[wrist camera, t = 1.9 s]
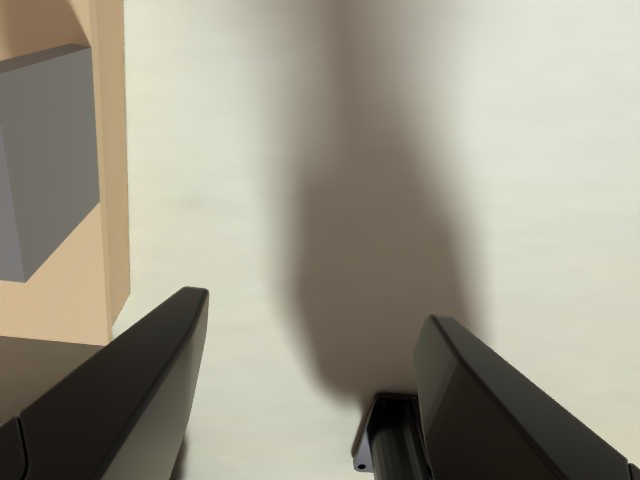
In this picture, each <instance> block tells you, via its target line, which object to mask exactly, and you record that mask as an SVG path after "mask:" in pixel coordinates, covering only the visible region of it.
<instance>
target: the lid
mask: <svg viewBox="0 0 640 480" xmlns="http://www.w3.org/2000/svg"><path fill="white" fill-rule="evenodd" d="M0 336H9V337H19V338H29V339H40V340H50V341H60V342H70V343H81V344H91V345H101V346H106V345H108V344H109V343H110V342H111V340H112V320H111V300H110V280H109V260H108V239H107V219H106V199H105V179H104V158H103V138H102V118H101V98H100V78H99V57H98V37H97V17H96V0H0Z"/></svg>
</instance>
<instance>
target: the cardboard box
mask: <svg viewBox="0 0 640 480" xmlns="http://www.w3.org/2000/svg"><path fill="white" fill-rule="evenodd" d="M96 17H97V37H98V57H99V78H100V98H101V118H102V138H103V158H104V179H105V199H106V219H107V239H108V260H109V280H110V300H111V320H112V326H113V324H114V322H115V321H116V319H117V317H118V315H119V313H120V311H121V309H122V308H123V306H124V304H125V302H126V300H127V298H128V297H129V295H130V265H129V224H128V182H127V141H126V100H125V58H124V17H123V0H96Z"/></svg>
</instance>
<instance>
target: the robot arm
mask: <svg viewBox="0 0 640 480" xmlns="http://www.w3.org/2000/svg"><path fill="white" fill-rule="evenodd" d="M208 307H209V291H208V290H207V289H205V288H197V287H189V286H186V287H183V288H181V289H180V290H179V291H177V292H176V293H175V294H173V295H172V296H171V297H169V298H168V299H167V300H166V301H164V302H163V303H162V304H160V305H159V306H158V307H156V308H155V309H154V310H152V311H151V312H150V313H148V314H147V315H146V316H144V317H143V318H142V319H141V320H139V321H138V322H137V323H135V324H134V325H133V326H131V327H130V328H129V329H127V330H126V331H125V332H123V333H122V334H121V335H119V336H118V337H117V338H116V339H114V340H113V341H112V342H110V343H109V344H108V345H106V346H105V347H104V348H102V349H101V350H100V351H98V352H97V353H96V354H94V355H93V356H92V357H91V358H89V359H88V360H87V361H85V362H84V363H83V364H81V365H80V366H79V367H77V368H76V369H75V370H73V371H72V372H71V373H69V374H68V375H67V376H66V377H64V378H63V379H62V380H60V381H59V382H58V383H56V384H55V385H54V386H52V387H51V388H50V389H48V390H47V391H46V392H44V393H43V394H42V395H40V396H39V397H38V398H37V399H35V400H34V401H33V402H31V403H30V404H29V405H27V406H26V407H25V408H23V409H22V410H21V411H19V413H18V417H16V416H13V417H11V418H10V419H9V420H7V421H6V422H5V423H3V424H2V425H1V426H0V480H169V479H170V476H171V473H172V470H173V467H174V464H175V461H176V458H177V455H178V452H179V449H180V446H181V443H182V440H183V437H184V434H185V430H186V427H187V424H188V420H189V416H190V412H191V408H192V403H193V398H194V393H195V388H196V383H197V378H198V373H199V368H200V363H201V358H202V353H203V348H204V343H205V338H206V331H207V320H208ZM414 367H415V375H416V382H417V390H418V395H407V394H396V393H385V392H382V393H378V394H376V395H375V396H374V398H373V401H372V404H371V407H370V410H369V413H368V416H367V420H366V423H365V426H364V429H363V432H362V435H361V438H360V441H359V444H358V447H357V450H356V453H355V456H354V459H353V465H354V469H355V470H356V471H359V472H370V473H374V479H375V480H640V469H639V468H638V467H637V466H635V465H634V464H632V463H628V460H627V459H626V458H625V457H624V456H623V455H622V454H620V453H619V452H618V451H617V450H615V449H614V448H613V447H612V446H610V445H609V444H608V443H607V442H606V441H604V440H603V439H602V438H601V437H599V436H598V435H597V434H596V433H594V432H593V431H592V430H591V429H589V428H588V427H587V426H586V425H585V424H583V423H582V422H581V421H580V420H578V419H577V418H576V417H575V416H573V415H572V414H571V413H570V412H568V411H567V410H566V409H565V408H564V407H562V406H561V405H560V404H559V403H557V402H556V401H555V400H554V399H552V398H551V397H550V396H549V395H547V394H546V393H545V392H544V391H543V390H541V389H540V388H539V387H538V386H536V385H535V384H534V383H533V382H531V381H530V380H529V379H528V378H526V377H525V376H524V375H523V374H522V373H520V372H519V371H518V370H517V369H515V368H514V367H513V366H512V365H510V364H509V363H508V362H507V361H505V360H504V359H503V358H502V357H501V356H499V355H498V354H497V353H496V352H494V351H493V350H492V349H491V348H489V347H488V346H487V345H486V344H484V343H483V342H482V341H481V340H480V339H478V338H477V337H476V336H475V335H473V334H472V333H471V332H470V331H468V330H467V329H466V328H465V327H463V326H462V325H461V324H460V323H459V322H457V321H456V320H455V319H454V318H452V317H449V316H442V315H430V316H428V317H427V318H426V320H425V322H424V325H423V328H422V330H421V333H420V336H419V339H418V341H417V344H416V347H415V351H414ZM382 401H384V402H382ZM18 418H19V419H18Z"/></svg>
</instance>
